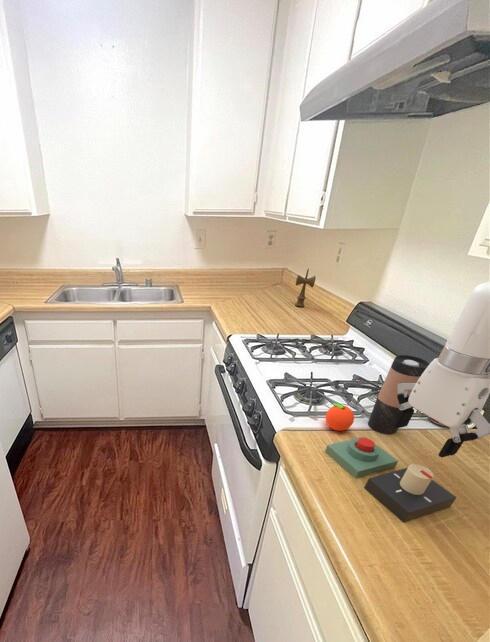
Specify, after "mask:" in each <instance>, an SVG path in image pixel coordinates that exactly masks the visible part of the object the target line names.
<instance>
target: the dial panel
mask: <svg viewBox="0 0 490 642" xmlns="http://www.w3.org/2000/svg"><path fill="white" fill-rule="evenodd" d="M407 468H408V467H405V468H401V469H398V470H394V471H390V472H387V473H383V474H379V475H376V476H371V477H369V478H368V479H367V481H366V483H365V486H364V488H363V489H365V491H367V492H368V493H369V494H370V495H371V496H372V497H374V499H376V500H377V501H378V502H379V503H380V504H382V505H383V506H384V507H385V508H386V509H387V510H388V511H390V513H391V514H393V515H394V516H395V517H396V518H397V519H399V520H400V521H401V522H402V523H407V522H411V521H413V520H414V521H415V520H416V519H419V518H422V517H425V516H429V515H431V514H434V513H437V512H440V511H443V510H446V509H448V508H451V506H452V505H453V504H454V502H455V501H456V499H457V496H456V495H455V494H454V493H451V492H450V491H449V490H447V489H446V488H444V487H443V486H441V485H440V484H439V483H438V482H436V481H435V480H434V479H432V480H431V482H430V484H429V485H428V487H427V488H426V490H425V492H424V493H423V494H421V495H415V494H411V493H409V492H407V491H405V490H404V489H403V488H402V487H401V486H400V481H401V479H402V478H403V476H404V474H405V472H406V470H407Z"/></svg>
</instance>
